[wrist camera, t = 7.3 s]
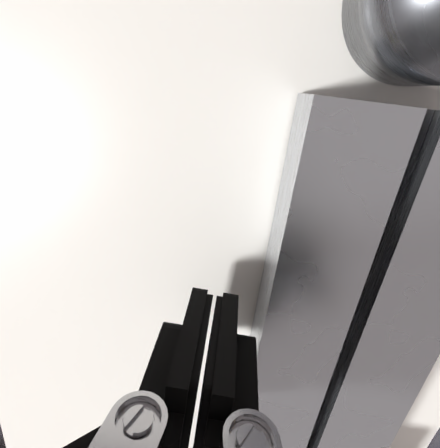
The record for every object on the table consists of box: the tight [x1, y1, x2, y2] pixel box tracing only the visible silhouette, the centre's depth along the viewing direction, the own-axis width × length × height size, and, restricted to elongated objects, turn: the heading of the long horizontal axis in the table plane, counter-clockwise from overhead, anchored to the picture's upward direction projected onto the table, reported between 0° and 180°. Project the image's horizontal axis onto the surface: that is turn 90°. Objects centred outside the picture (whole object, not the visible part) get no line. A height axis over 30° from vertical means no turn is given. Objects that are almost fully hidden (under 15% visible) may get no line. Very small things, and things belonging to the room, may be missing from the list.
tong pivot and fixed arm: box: [306, 0, 440, 448], centre depth 10 cm, size 22×6×3 cm, turn 173°
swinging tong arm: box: [250, 93, 427, 448], centre depth 11 cm, size 18×4×2 cm, turn 174°
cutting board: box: [0, 0, 440, 448], centre depth 13 cm, size 28×21×2 cm
